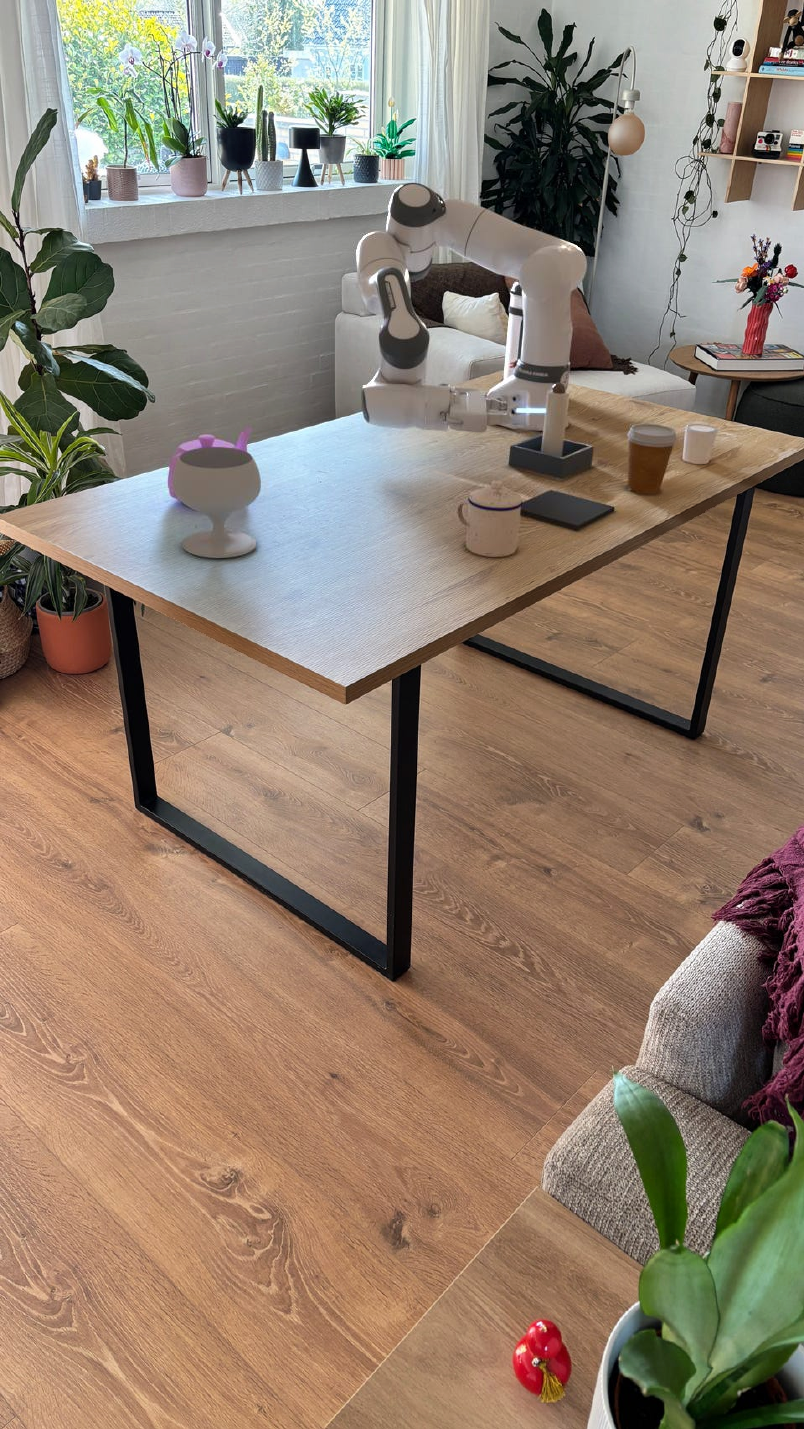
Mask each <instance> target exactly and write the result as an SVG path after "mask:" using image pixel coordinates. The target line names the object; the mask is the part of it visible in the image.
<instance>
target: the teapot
mask: <svg viewBox="0 0 804 1429" xmlns="http://www.w3.org/2000/svg"><path fill="white" fill-rule="evenodd" d="M253 430H254V427H248V428H245V430H243V431H241V432H240V434H239V435H238V439H237V443H236V445H235V444H233V443H231V442H229V441H225V440H223V439H218V438H216V436H215V435H211V434H200V435H199V436H198V439H193V440H190V441H186V442H184V443H181V444H179V446H178V447H177V448H176V450H175V452H174V455H173V457H172V458H171V459H170V461H169V463H168V474H167V488H168V494H169V495H170V497H171V498H173V499H175V500H177V501H179V502H181V501H180V500H179V499H178V497H177V496H176V494H175V492H174V489H173V475H174V470H175V466H176V463H177V461H178V458H179V457H180V455H181V454H183V453H184V452H186V451H189V450H193V449H198V448H205V447H226V448H234V449H239V450H243V451H245V452H248V439H249V436H250V435H251V434H252V432H253Z"/></svg>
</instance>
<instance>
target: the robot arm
mask: <svg viewBox="0 0 804 1429" xmlns="http://www.w3.org/2000/svg"><path fill="white" fill-rule="evenodd" d="M435 247H443V248H447V249H449V250H450V251H451V252H452V253H455V254H457V255H458V256H459V257H461V258H464V259H466V260H468V261H470V262H472V263H474V264H476V265H478V266H480V267H482V268H484V269H486V270H489V271H490V272H493V273H495V274H496V275H500V276H505V277H508V278H512V279H515V280H519V282H520V286H521V288H522V304H523V319H524V326H523V339H522V350H521V358H520V359H518V360H516V361H515V362H512V363H510V364H512V365H511V366H510V368H512V367H514V371H513V373H512V375H511V376H509V377H508V378H506V379H505V380H503V381H502V382H501V381H499V383H497V384H495V385H494V386H493V387H492V388H490V390H489V391H488V392H487V394H486V392H485V391H484V390H480V389H477V388H471V387H470V388H469V387H462V386H451V384H450V383H447V382H446V383H444V382H443V383H439V384H437V385H433V384H432V385H431V384H428V385H427V384H426V383H427V382H426V381H427V370H428V369H427V368H428V353H429V346H430V340H431V339H430V338H431V336H430V332H429V329H428V328H427V326H426V324H425V323H424V322H423V321H422V320H421V318H420V317H419V316H418V315H417V313H416V311H415V310H414V306H413V304H412V303H413V302H412V299H411V295H412V294H411V293H412V291H411V290H412V288H411V282H412V283H413V282H416V281H420V280H422V279H423V278H425V277H426V276H427V275H428V274H429V271H430V270H431V267H432V264H433V259H434V258H433V255H434V252H435ZM586 257H587V256H586V255H585V253H584V250H582V249H581V248H580V247H578V245H576V244H574V243H571V242H569V241H566V240H563V239H561V238H559V237H556V236H553V235H552V234H548V233H545V232H543V231H540V230H538V229H535V228H531V227H529V226H528V227H527V226H525V225H522V224H520V223H517V222H515V221H513V220H510V219H509V218H506V217H504V216H502V215H500V214H498V213H496V212H494V211H492V210H490V209H488V208H485V207H483V206H482V205H481V206H480V205H478V204H475V203H474V202H473V203H472V202H469V201H466V200H462V199H458V198H454V197H448V198H445V199H443V197H442V196H441V195H440V194H439V193H437V192H436V191H434V190H433V189H432V188H430V187H428V186H427V185H424V184H422V183H418V182H407V183H404V184H401V185H399V186H397V187H396V188H395V189H394V191H393V193H392V195H391V197H390V199H389V203H388V215H387V220H386V227H385V231H381V230H376V231H372V232H369V233H367V234H365V235H364V236H363V237H362V238H361V240H359V242H358V245H357V249H356V261H355V262H356V277H357V283H358V287H359V291H360V296H361V298H362V301H363V303H364V306H365V307H366V309H367V310H368V311H369V312H371V313H372V314H375V315H378V316H382V318H383V320H382V323H381V326H380V329H379V332H378V344H379V368H378V370H377V372H376V374H375V376H374V377H373V378H372V379H371V380H370V382H368V383H367V384H365V385H363V386H362V388H361V392H360V393H361V394H360V399H361V409H362V415H363V418H364V420H365V422H366V423H367V424H370V425H371V426H375V427H380V428H386V429H396V430H397V429H398V430H406V429H410V428H411V429H412V428H414V429H419V430H421V431H433V432H435V431H436V432H448V430H449V429H451V430H454V431H458V432H459V431H460V432H468V433H486V432H487V429H488V426H494V425H499V426H501V427H505V428H508V429H511V430H528V431H539V432H540V431H541V432H543V429H544V419H545V410H546V401H547V392H548V390H551V389H552V387H553V385H554V384H555V383H559V382H560V383H563V384H564V385H565V387H566V391H568V390H567V389H568V387H569V380H570V374H571V373H570V372H571V371H570V370H571V362H570V355H571V348H572V338H573V330H574V327H573V323H572V313H571V312H572V311H571V297H572V296H571V295H572V292H573V291H575V290H576V289H577V288H579V286H580V285H581V284H582V282H583V280H584V279H585V276H586V274H587V273H586V272H587V268H588V261H587V258H586ZM568 427H569V418H568V417H567V418H566V427H565V429H566V428H568Z"/></svg>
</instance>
